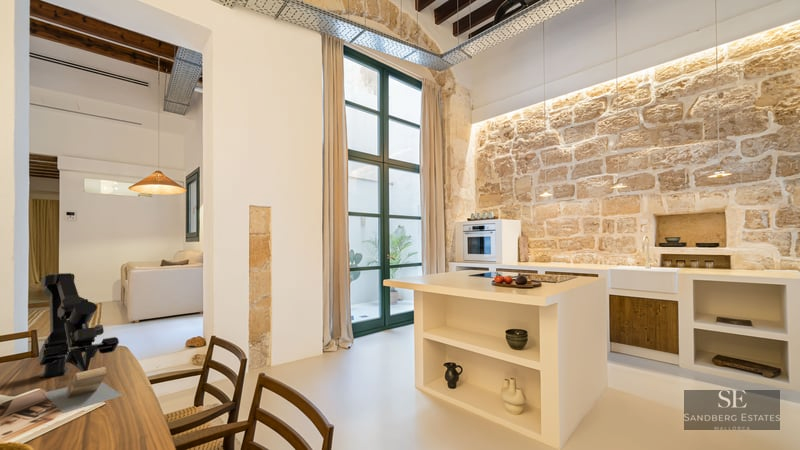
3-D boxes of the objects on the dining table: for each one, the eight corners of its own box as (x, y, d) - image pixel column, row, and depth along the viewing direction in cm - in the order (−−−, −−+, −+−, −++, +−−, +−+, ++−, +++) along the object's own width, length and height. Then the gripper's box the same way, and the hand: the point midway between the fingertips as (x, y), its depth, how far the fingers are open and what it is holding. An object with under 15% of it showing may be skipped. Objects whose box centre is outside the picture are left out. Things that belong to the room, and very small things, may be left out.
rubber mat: (42, 394, 106) (42, 393, 106) (98, 380, 118) (98, 379, 118) (62, 414, 95) (63, 412, 95) (122, 396, 107) (123, 395, 107)
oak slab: (66, 390, 105) (76, 372, 102) (95, 383, 111) (105, 366, 108) (67, 397, 104) (77, 380, 101) (96, 390, 110) (106, 373, 106)
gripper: (45, 322, 103) (51, 365, 97) (119, 314, 119) (129, 350, 113) (36, 343, 107) (41, 386, 100) (109, 332, 123) (117, 369, 116)
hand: (85, 372), depth 107 cm, fingers closed
